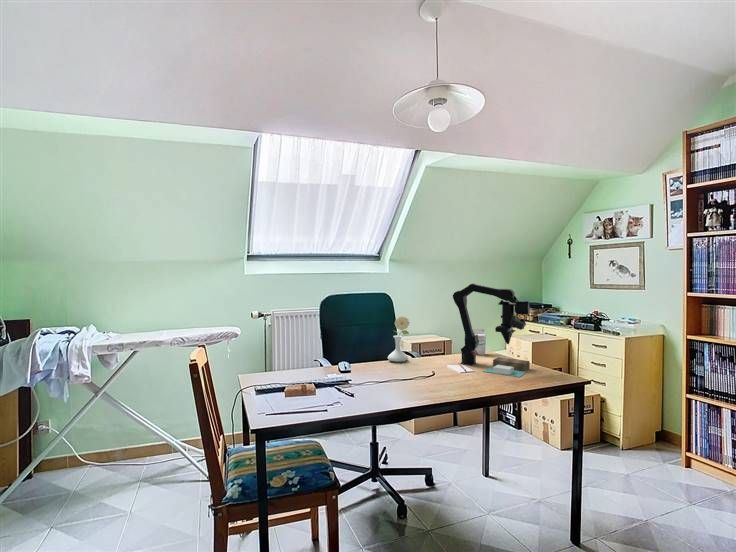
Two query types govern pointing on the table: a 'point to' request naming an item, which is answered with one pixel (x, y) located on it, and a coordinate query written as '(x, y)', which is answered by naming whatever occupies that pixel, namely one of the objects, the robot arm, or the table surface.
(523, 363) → the brown rectangular block
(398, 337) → the flower in vase
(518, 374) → the mat
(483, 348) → the ink cartridge box
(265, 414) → the table surface
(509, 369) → the tile
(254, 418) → the table surface
